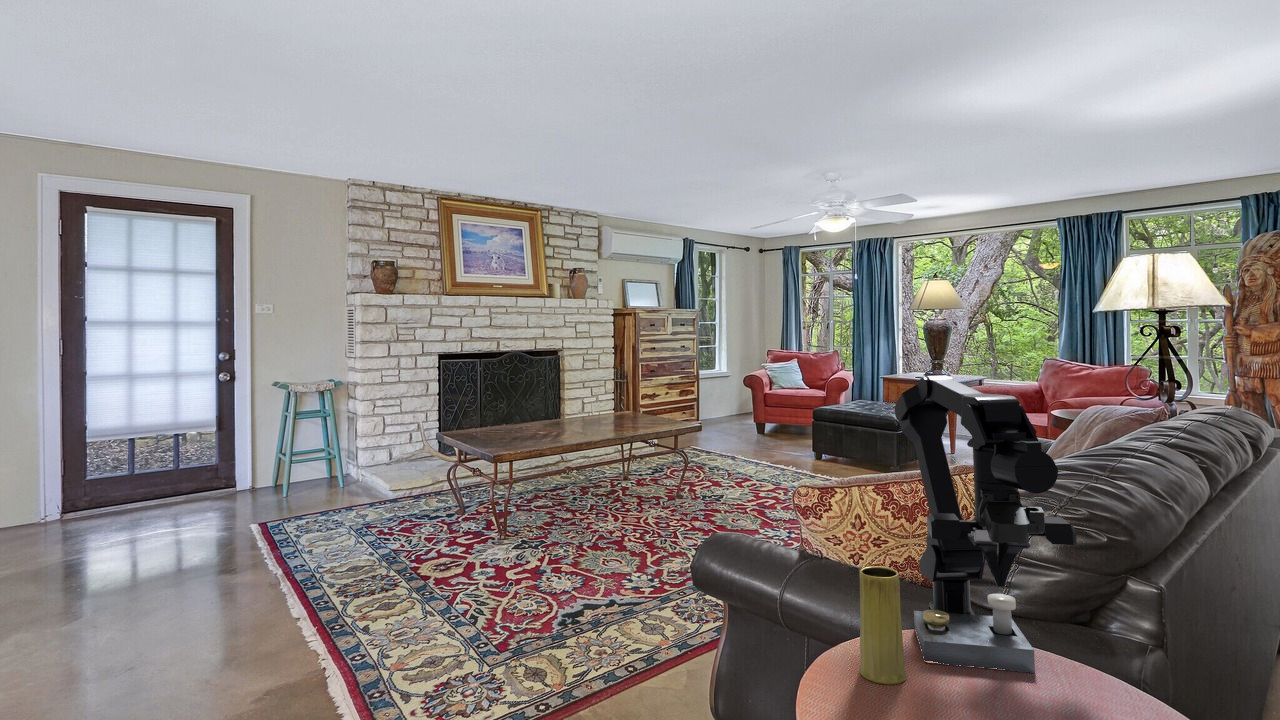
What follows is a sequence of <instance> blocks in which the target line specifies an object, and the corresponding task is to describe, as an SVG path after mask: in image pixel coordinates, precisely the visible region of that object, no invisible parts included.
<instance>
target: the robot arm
mask: <svg viewBox="0 0 1280 720" xmlns="http://www.w3.org/2000/svg"><path fill="white" fill-rule="evenodd" d="M899 396H900V397H899V398H898V399H897V401H896V403H895V405H894V416H895V419H896V420H897V421H898V423H899V426H900V429H901V430H900V431H901V432H902V434H903V435H904V436H905V437H906V438H907V439H908V440H910V442H912V444H913V446H914V450H915V453H916V458H917V463H918V466H919V472H920V475H921V480H922V484H923V489H924V492H925V497H926V501H927V505H928V509H929V514H928V515H927V517H926V527H927V535H926V536H925V537H926V538H925V541H926V547H925V550H924V552H923V554H922V555H921V557H920V558H919V560H918V561H919V562H918V563H919V569H920V574H921V575H922V576H923V577H925V578H926V579H928V580H929V581H930V582H932V592H933V593H932V595H933V601H930V602H929V604H928V605H929V607H930V610H940V611H944V612H946V613H955V614H969V615H976V614H975V612H974V611H973V609H972V607H971V587H970V582H971V581H983V576H984V570H985V563H986V562H987V565H988V568H989V570H990V573H991V575H992V577H993V580H994V583H995V585H996V587H997V588H1004V587H1005V585H1006V582H1007V579H1008V576H1009V575H1010V572H1011V568H1012V566H1013V564H1014V561H1015V559H1016V558H1017V555H1018V554H1020V552H1021V551H1022V550H1025V549H1026V550H1027V549H1030V548H1031V544H1030V543H1029V542H1030V541H1029V540H1030V536H1031V537H1032V536H1033V537H1044V538H1045V539H1046V540H1047V541H1048V542H1049V543H1050V544H1052V545H1064V546H1065V545H1066V546H1076V545H1077V531H1076V528H1075V527H1074V526H1073V525H1072V524H1071V523H1070V522H1069V521H1067V520H1065V519H1064V518H1062V516H1061V517H1060V516H1045V511H1044V510H1043V508H1042V506H1026V507H1023V505H1022V502H1021V496H1020V491H1019V490H1021V491H1024V492H1028V493H1030V494H1035V495H1036V494H1038V495H1039V494H1043V493H1045V492H1047V491H1049V490H1050V489H1052V488H1053V487H1054V485H1055V484H1056V482H1057V480H1058V475H1059V469H1058V466H1057V465H1056V462H1055V460H1054V458H1052V457H1051V456H1050V455H1049V454H1048V453H1046V452H1044V451H1043V450H1042V442H1041V441H1039V439H1038V436H1037V430H1036V429H1035V427H1034V426H1033V424H1032V422H1031V421H1030V418H1029V417H1028V415H1027V413H1026V411H1025V408H1024V407H1023V405H1022V404H1021V402H1020V401H1019V399H1018V398H1017V397H1015V396H1014V395H1008V394H1007V395H1006V394H998V393H997V394H996V393H995V394H993V393H992V394H991V393H983V392H980V391H978V390H976V389H974V388H972V387H969V386H967V385H965V384H964V383H961V382H959V381H956V380H954V378H953V377H952V376H948V375H926V376H924V377H921V378H920V379H919V380H918V382H917V384H915V385H913V386H912V387H910V388H908V389H907V390H904V391H903V392H902V393H901V395H899ZM951 412H952V413H954V414H956V415H958V416H959V417H960V424H961V426H963V427H964V429H965V430H967V431H968V433H969V434H970V435H971V438H970V439H969V440H968V441H967V444H966V445H967V446H968V447H969V448H972V456H973V457H972V461H973V462H972V463H973V482H974V483H973V484H974V485H973V490H974V508H975V509H974V512H975V513H974V514H975V515H974V516H975V520H971V519H970V520H969V519H968V520H967V519H964V518H963V515H962V514H961V508H960V506H959V505H960V504H959V501H958V497H957V492H956V490H955V485H954V482H953V477H952V474H951V470H950V466H949V461H948V457H947V453H946V450H945V446H944V445H945V444H944V442H943V435H944V432H945V430H946V427H947V425H948V417H947V416H948V415H949V414H950V413H951Z"/></svg>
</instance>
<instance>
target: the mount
mask: <svg viewBox="0 0 1280 720" xmlns="http://www.w3.org/2000/svg"><path fill="white" fill-rule="evenodd" d="M923 611H924V610H913V619H914V620H913V621H914V622H913V623H914V631H915V630H916V632H917V636H918V639H919V642H920V646H921V649H922V653H923V656H924V659H923V661H924V660H925V661H933V662H938V663H941V664H943V663H944V664H949V665H958V666H957V667H960V666H959V665H961V666H974V667H984V668H997V669H1005V670H1012V671H1011V672H1015V671H1019V672H1018V673H1026V672H1028V673H1027V674H1036V667H1035V666H1036V665H1035V649H1034V648H1033V646H1032V645H1031V644H1030V642H1029V640H1028V639H1027V638H1026V636H1025V635H1024V633H1023V632H1022V631H1021V629H1020V628H1019V627H1018V626H1017V624H1016V622H1015V621H1014V619H1012V634H1008V635H1006V634H999V633H996V632H995V631H994V629H993V615H982V614H975V615H969V614H955V613H948V614H949V625H948V626H945V631H940V630H928V624H926V623H925V622H924V621H923ZM917 636H916V637H917ZM920 646H919V647H920ZM921 649H920V650H921ZM922 653H921V654H922ZM923 656H922V657H923ZM949 665H948V666H949ZM1029 672H1030V673H1029Z"/></svg>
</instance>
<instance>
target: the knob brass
mask: <svg viewBox="0 0 1280 720" xmlns="http://www.w3.org/2000/svg"><path fill="white" fill-rule="evenodd" d="M922 611H923V621H924V622H925V623H926V624H928V630H940V631H945V626H948V625H949V614H948V613H946V612H944V611H940V610H931V609H925V610H922Z"/></svg>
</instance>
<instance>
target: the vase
mask: <svg viewBox="0 0 1280 720" xmlns="http://www.w3.org/2000/svg"><path fill="white" fill-rule="evenodd" d="M900 585H901V584H900V574H899V572H898V571H897V570H896V569H893V568H891V567H886V566H878V565H877V566H874V565H873V566H872V565H871V566H866V567H862V568H860V569H859V607H860V608H859V610H860V616H859V617H860V618H859V619H860V620H859V621H860V622H859V624H860V625H859V629H860V630H859V631H860V632H859V635H860V636H859V659H860V664H859V665H860V666H859V673H860V675H861V676H862V677H863V678H864V679H866V680H867V681H870V682H872V683H875V684H879V685H888V686H889V685H890V686H891V685H899V684H901V683H903V682H904V681H906V680H907V672H906V668H905V667H906V666H905V656H904V655H905V654H904V643H903V627H902V614H901V588H900Z"/></svg>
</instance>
